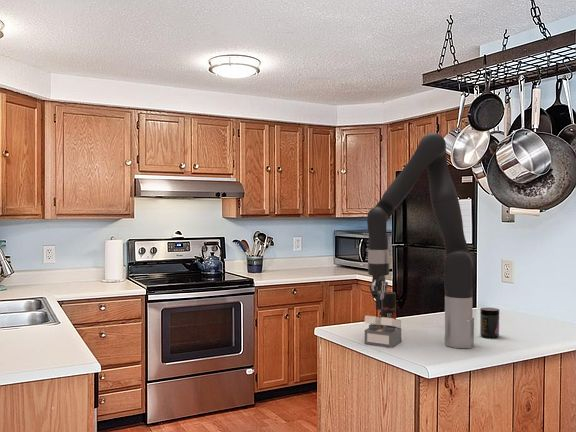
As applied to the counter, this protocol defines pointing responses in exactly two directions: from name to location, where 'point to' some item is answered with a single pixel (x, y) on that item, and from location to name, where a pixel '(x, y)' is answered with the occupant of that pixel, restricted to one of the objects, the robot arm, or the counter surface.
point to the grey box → (382, 335)
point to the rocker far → (373, 320)
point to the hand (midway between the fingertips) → (379, 309)
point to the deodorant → (389, 306)
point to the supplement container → (489, 323)
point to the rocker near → (390, 322)
